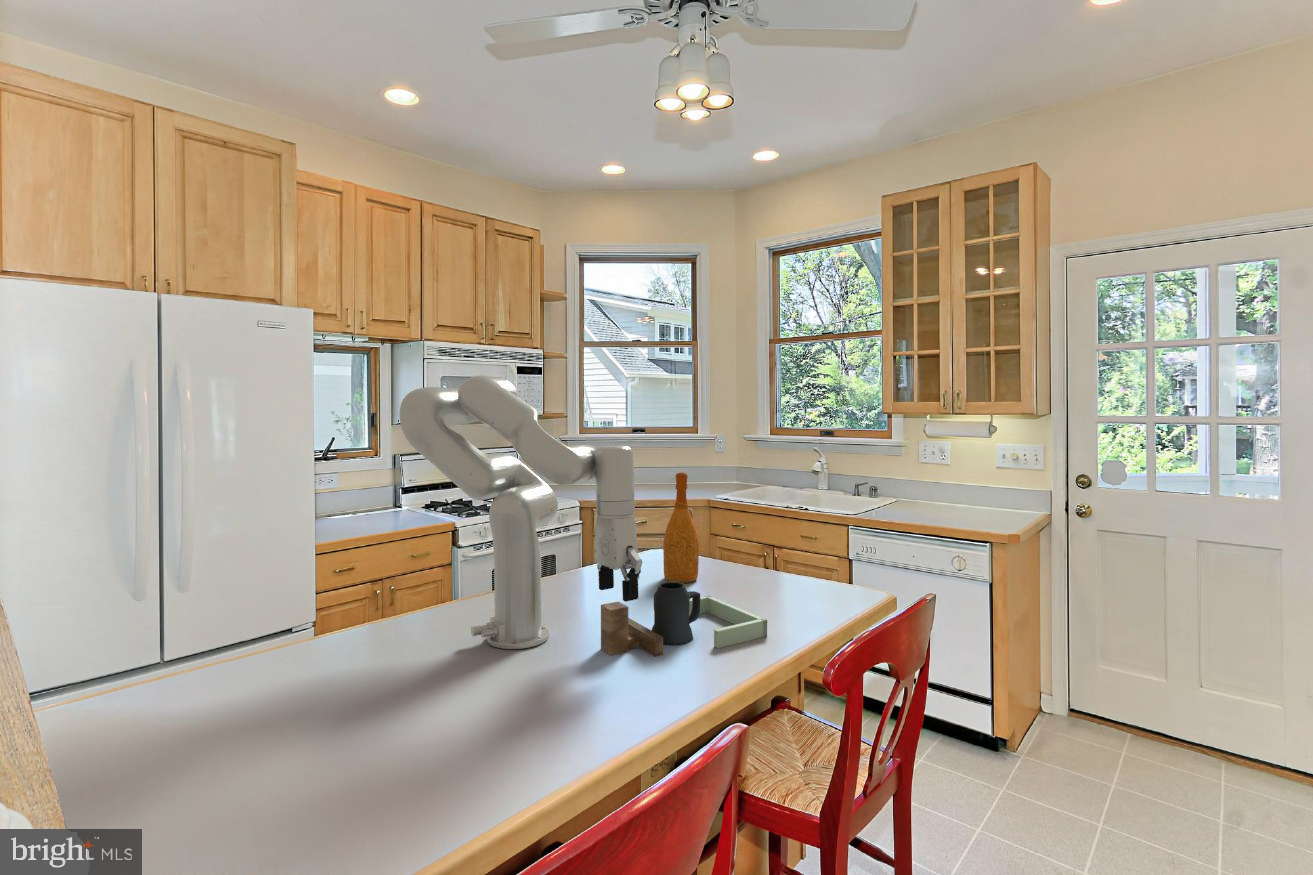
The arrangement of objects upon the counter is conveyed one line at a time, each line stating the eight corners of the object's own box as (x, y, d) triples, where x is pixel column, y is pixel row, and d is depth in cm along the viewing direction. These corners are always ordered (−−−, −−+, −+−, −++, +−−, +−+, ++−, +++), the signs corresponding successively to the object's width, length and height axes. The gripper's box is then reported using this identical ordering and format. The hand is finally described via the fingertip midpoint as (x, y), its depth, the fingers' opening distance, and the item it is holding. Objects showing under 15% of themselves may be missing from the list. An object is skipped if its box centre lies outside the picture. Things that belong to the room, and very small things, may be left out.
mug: (668, 649, 131) (669, 593, 130) (641, 636, 138) (641, 583, 138) (712, 635, 139) (712, 583, 138) (683, 624, 146) (683, 574, 145)
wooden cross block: (623, 664, 123) (623, 617, 123) (589, 641, 135) (589, 598, 135) (663, 654, 128) (663, 609, 128) (627, 633, 140) (627, 591, 139)
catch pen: (717, 648, 131) (717, 631, 131) (662, 619, 149) (662, 604, 148) (767, 636, 138) (767, 619, 138) (708, 610, 156) (708, 595, 155)
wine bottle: (699, 584, 178) (700, 474, 176) (663, 584, 178) (663, 474, 176) (697, 575, 187) (698, 470, 186) (663, 574, 188) (664, 470, 186)
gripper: (579, 505, 134) (581, 588, 135) (620, 516, 119) (623, 608, 120) (611, 501, 138) (613, 582, 139) (655, 511, 123) (657, 601, 124)
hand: (618, 594), depth 129 cm, fingers open, 9 cm apart
